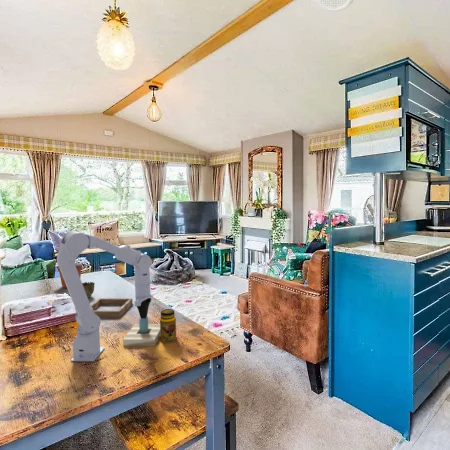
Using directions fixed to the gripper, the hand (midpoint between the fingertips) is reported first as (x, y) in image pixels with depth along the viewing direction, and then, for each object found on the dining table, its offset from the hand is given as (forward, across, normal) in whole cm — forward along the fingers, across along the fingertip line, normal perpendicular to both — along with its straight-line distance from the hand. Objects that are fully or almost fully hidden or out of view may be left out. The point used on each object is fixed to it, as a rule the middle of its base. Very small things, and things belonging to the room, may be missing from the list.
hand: (143, 317), depth 122 cm
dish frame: (+8, +29, +26) cm, 40 cm away
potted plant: (+8, +72, +67) cm, 99 cm away
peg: (+8, 0, 0) cm, 8 cm away
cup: (+8, +49, +46) cm, 68 cm away
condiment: (+9, -1, -9) cm, 13 cm away
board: (+8, 0, 0) cm, 8 cm away
